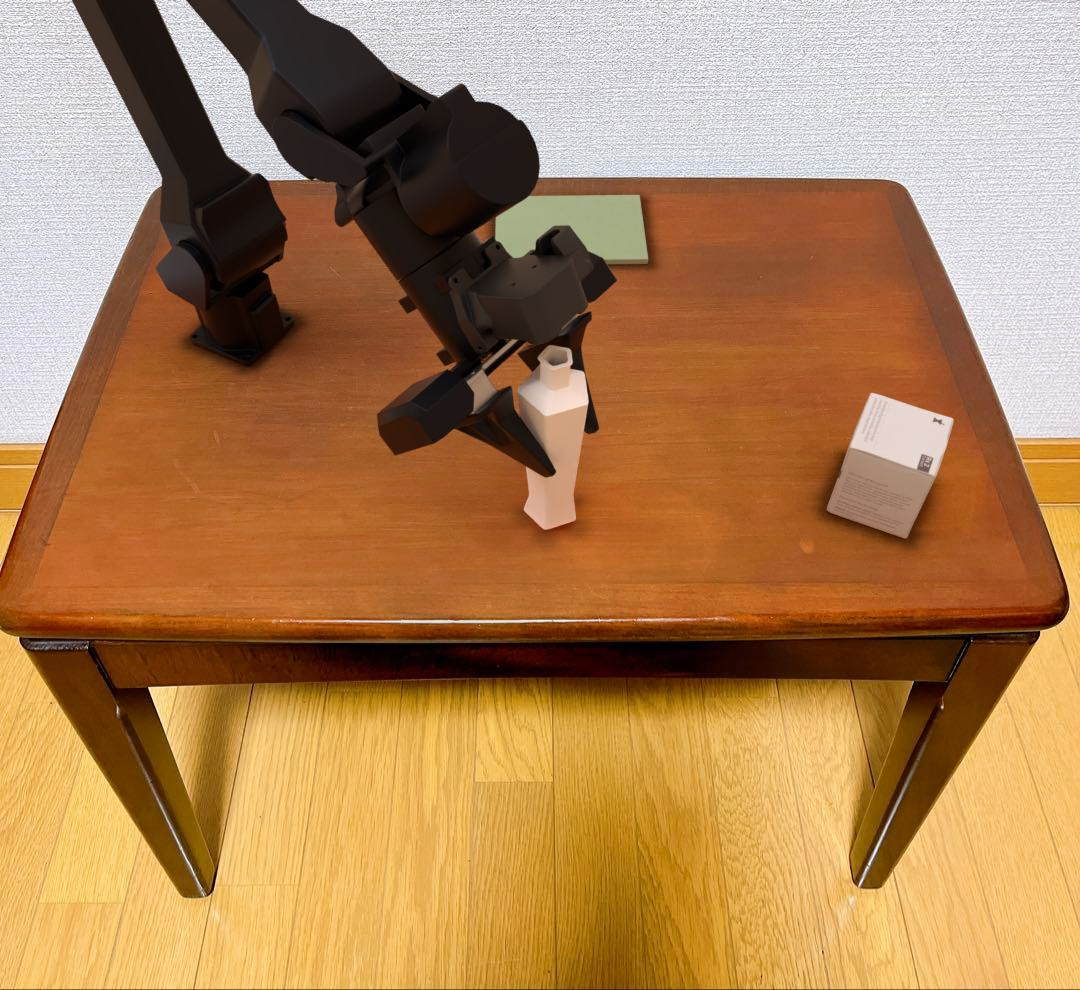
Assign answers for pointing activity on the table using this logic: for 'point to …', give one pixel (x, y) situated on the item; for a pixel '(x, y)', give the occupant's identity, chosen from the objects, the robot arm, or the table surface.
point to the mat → (578, 225)
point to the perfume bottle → (554, 433)
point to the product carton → (890, 465)
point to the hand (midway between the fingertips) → (572, 453)
